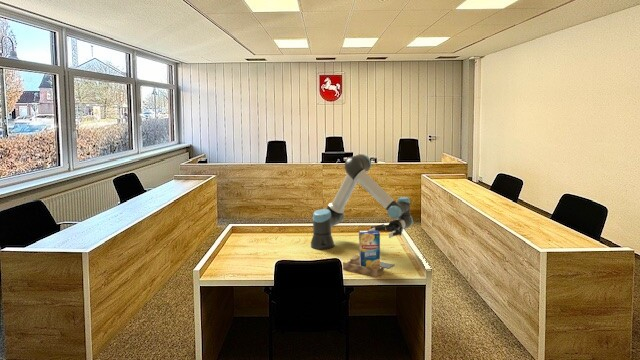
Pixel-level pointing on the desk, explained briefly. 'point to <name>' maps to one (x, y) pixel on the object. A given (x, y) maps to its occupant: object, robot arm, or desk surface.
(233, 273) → the desk surface
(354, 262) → the offcut top
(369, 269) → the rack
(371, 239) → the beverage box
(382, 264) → the pad
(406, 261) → the desk surface
